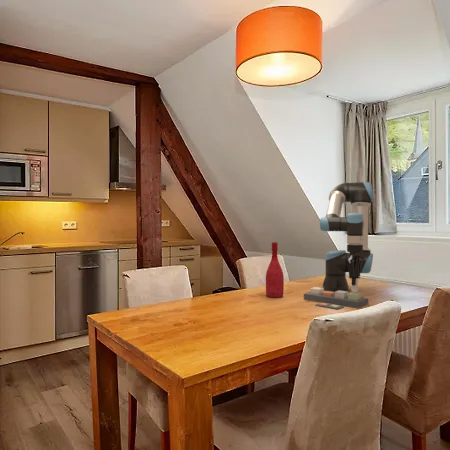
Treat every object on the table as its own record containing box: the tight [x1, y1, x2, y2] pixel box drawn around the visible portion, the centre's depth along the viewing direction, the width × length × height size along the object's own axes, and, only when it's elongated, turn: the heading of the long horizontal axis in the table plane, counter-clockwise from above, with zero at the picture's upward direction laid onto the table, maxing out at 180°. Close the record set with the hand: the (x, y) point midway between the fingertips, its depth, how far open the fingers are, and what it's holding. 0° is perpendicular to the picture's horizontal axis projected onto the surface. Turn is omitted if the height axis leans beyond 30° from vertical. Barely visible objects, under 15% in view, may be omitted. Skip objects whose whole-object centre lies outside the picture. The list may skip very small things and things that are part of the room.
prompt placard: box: [315, 302, 345, 310], centre depth 192 cm, size 12×6×1 cm, turn 47°
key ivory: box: [310, 286, 325, 295], centre depth 210 cm, size 5×5×3 cm
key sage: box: [348, 291, 363, 301], centre depth 196 cm, size 5×5×3 cm
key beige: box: [334, 290, 349, 299], centre depth 201 cm, size 5×5×3 cm
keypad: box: [303, 291, 369, 309], centre depth 203 cm, size 30×12×3 cm, turn 47°
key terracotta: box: [322, 290, 336, 297], centre depth 206 cm, size 5×5×3 cm
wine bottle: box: [265, 241, 285, 299], centre depth 216 cm, size 10×10×30 cm
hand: (354, 291), depth 196 cm, fingers closed
